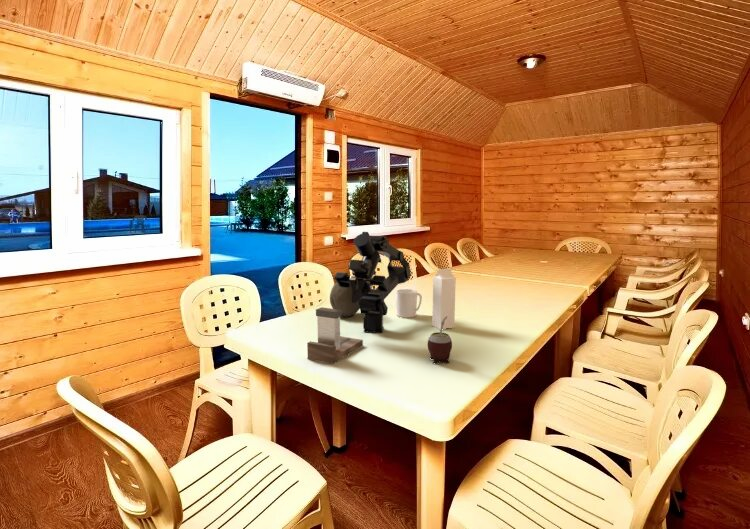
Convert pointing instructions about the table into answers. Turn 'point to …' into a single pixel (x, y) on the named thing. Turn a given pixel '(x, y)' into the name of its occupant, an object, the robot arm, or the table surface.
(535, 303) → the table surface
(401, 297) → the mug
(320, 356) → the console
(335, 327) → the fader tab
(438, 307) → the milk
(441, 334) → the mate gourd
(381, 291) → the robot arm
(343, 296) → the dark rounded lump
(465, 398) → the table surface
